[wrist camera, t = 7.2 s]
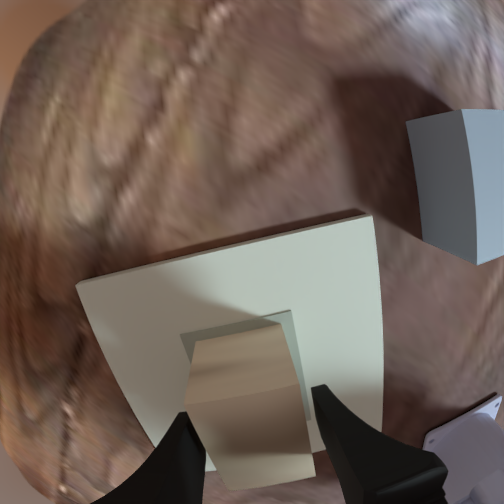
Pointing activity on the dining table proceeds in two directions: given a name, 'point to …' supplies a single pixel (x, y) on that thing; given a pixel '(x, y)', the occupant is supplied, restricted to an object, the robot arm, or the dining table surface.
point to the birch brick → (249, 409)
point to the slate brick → (461, 181)
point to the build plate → (248, 318)
